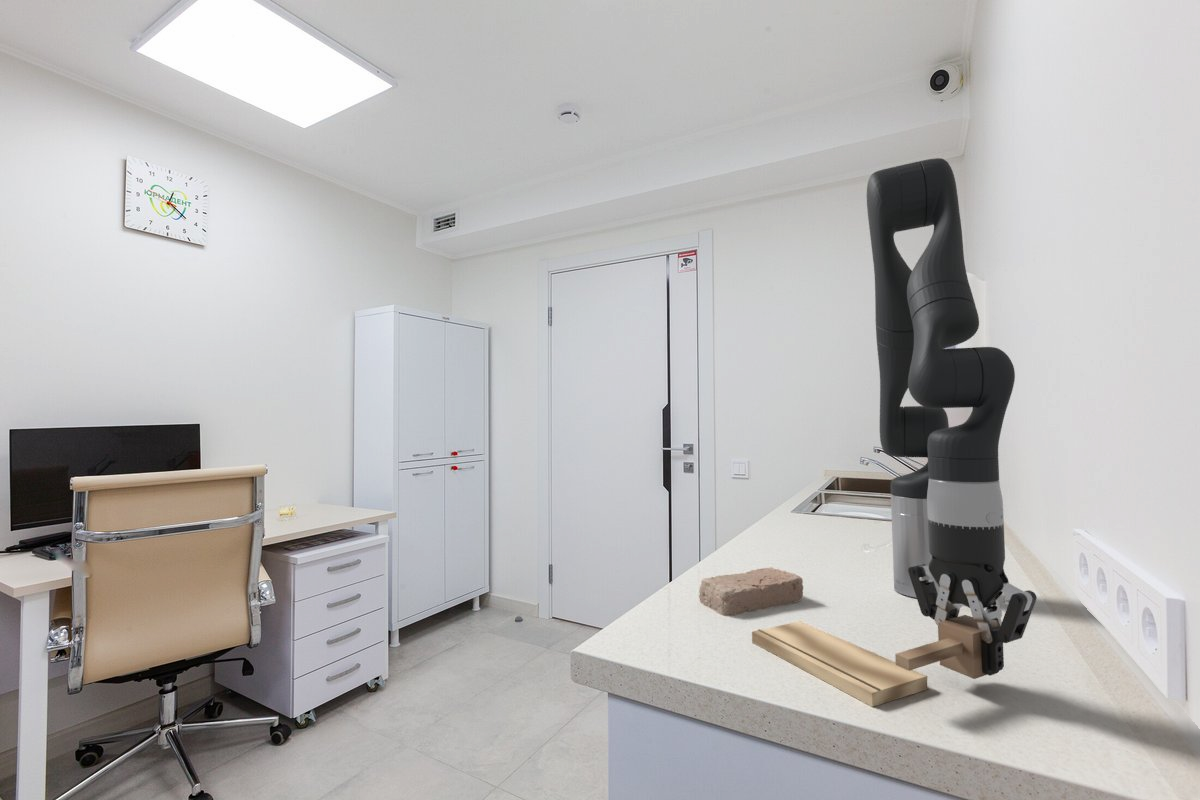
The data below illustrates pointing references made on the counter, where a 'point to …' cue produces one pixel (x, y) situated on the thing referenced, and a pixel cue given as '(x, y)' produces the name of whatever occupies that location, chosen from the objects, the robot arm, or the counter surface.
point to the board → (840, 663)
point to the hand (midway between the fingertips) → (970, 664)
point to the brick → (750, 591)
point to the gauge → (949, 649)
